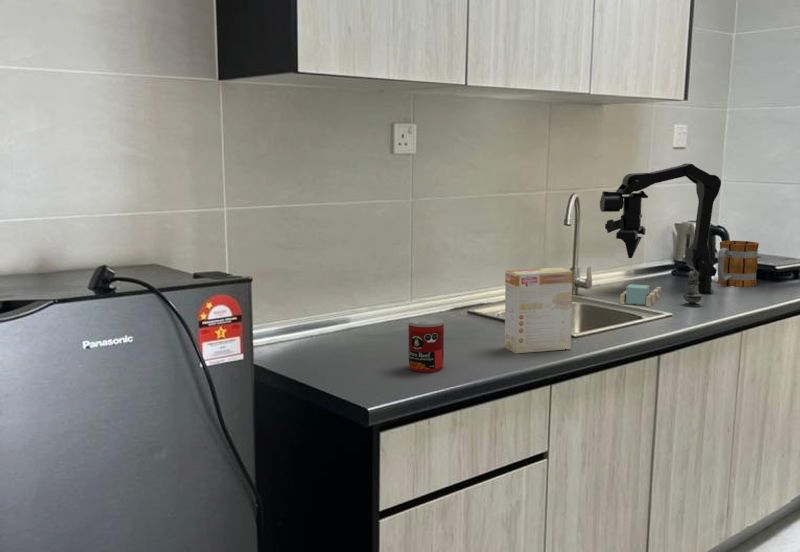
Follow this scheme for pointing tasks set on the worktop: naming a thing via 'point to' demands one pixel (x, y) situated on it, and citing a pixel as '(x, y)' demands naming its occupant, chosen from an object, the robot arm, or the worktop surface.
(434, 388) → the worktop surface
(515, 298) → the coffeecake box
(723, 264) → the mug
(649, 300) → the chute
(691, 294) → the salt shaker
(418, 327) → the canned food
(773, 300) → the worktop surface
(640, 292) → the block
